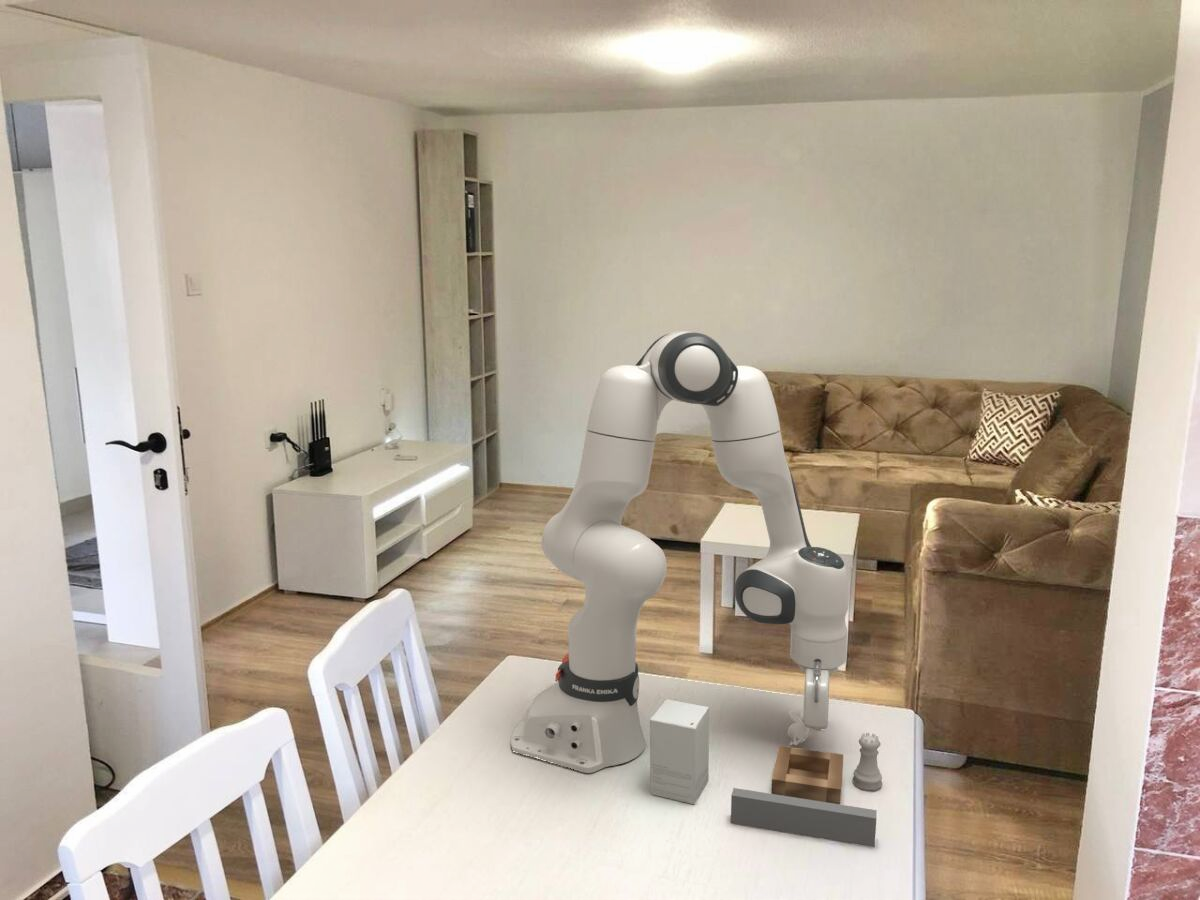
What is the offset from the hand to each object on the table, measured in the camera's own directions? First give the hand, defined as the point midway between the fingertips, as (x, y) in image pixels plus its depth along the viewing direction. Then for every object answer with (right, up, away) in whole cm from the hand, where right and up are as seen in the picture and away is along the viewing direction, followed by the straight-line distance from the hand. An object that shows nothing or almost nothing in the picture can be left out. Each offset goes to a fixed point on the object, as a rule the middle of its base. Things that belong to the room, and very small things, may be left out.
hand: (816, 725), depth 153 cm
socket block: (-4, -7, -10) cm, 12 cm away
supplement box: (-23, -7, -9) cm, 26 cm away
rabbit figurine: (-1, -4, +6) cm, 7 cm away
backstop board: (-7, -9, -20) cm, 23 cm away
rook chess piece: (+6, -7, -8) cm, 12 cm away
